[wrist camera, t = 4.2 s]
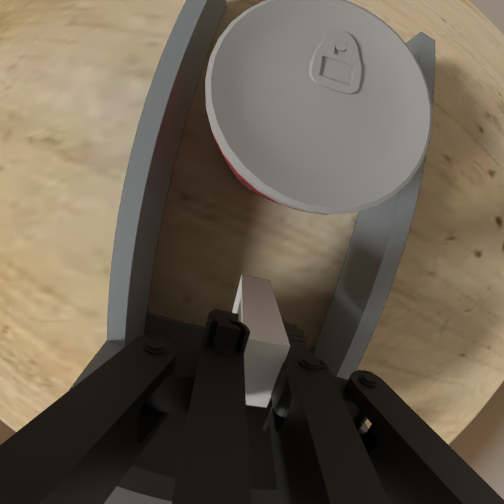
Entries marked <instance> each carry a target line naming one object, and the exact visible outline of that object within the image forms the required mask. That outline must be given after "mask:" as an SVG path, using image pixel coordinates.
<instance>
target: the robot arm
mask: <svg viewBox="0 0 504 504" xmlns="http://www.w3.org/2000/svg"><path fill="white" fill-rule="evenodd" d="M270 398H271V399H272V407H271V410H270V412H269V414H268V417H267V419H266V421H265V423H264V426H263V430H262V431H266V429H267V427H268V425H269V427H270V435H271V443H272V450H273V458H274V466H275V474H276V482H277V490H278V497H279V504H504V500H503V499H502V498H501V497H500V496H499V495H498V494H497V493H496V492H495V491H494V490H493V489H492V488H491V487H490V486H489V485H488V484H487V483H486V482H485V481H484V480H483V479H482V478H481V477H480V476H479V475H478V474H477V473H476V472H475V471H474V470H473V469H472V468H471V467H470V466H469V465H468V464H467V463H466V462H465V461H464V460H463V459H462V458H461V457H460V456H459V455H458V454H457V453H456V452H454V450H453V449H452V448H451V447H450V446H449V445H448V444H447V443H446V442H445V441H444V440H443V439H442V438H441V437H440V436H439V435H438V434H437V433H436V432H435V431H434V430H433V429H432V428H430V427H429V426H428V425H427V424H426V423H425V422H424V421H423V420H422V419H421V418H420V417H419V416H418V415H417V414H416V413H415V412H414V411H413V410H412V409H411V408H410V407H409V406H408V405H407V404H406V403H405V402H404V401H403V400H402V399H401V398H400V397H399V396H398V395H397V394H396V393H395V392H394V391H393V390H392V389H391V388H390V387H389V386H388V385H387V384H386V383H385V382H384V381H383V380H382V379H381V378H379V377H378V376H377V375H375V374H373V373H372V372H369V371H361V370H358V371H354V372H353V373H352V374H351V375H350V377H349V379H348V380H347V379H343V378H340V377H336V376H333V375H332V374H331V372H330V370H329V367H328V366H327V365H326V363H325V362H324V361H322V360H321V359H319V358H317V357H315V356H313V355H312V353H311V350H310V348H309V346H308V343H307V341H306V338H305V336H304V334H303V331H302V330H301V329H300V328H299V327H298V326H297V325H296V324H291V323H285V322H283V321H282V318H281V315H280V312H279V309H278V306H277V302H276V299H275V296H274V293H273V290H272V287H271V283H270V281H269V280H264V279H260V278H256V277H251V276H247V275H242V274H241V278H240V282H239V286H238V290H237V294H236V298H235V302H234V306H233V310H232V312H227V311H223V310H219V309H214V310H213V311H211V312H210V313H209V316H208V320H207V323H206V328H205V332H204V337H203V342H202V345H201V346H200V347H199V348H198V349H195V350H192V351H177V349H176V346H175V345H174V344H173V343H172V342H171V341H169V340H168V339H166V338H163V337H160V336H156V335H144V336H140V337H138V338H136V339H134V340H133V341H132V342H131V343H129V344H128V345H127V346H126V347H124V348H123V349H122V350H120V351H119V352H118V353H117V354H115V355H114V356H113V357H111V358H110V359H109V360H108V361H106V362H105V363H104V364H103V365H101V366H100V367H99V368H97V369H96V370H95V371H94V372H92V373H91V374H90V375H89V376H87V377H86V378H85V379H83V380H82V381H81V382H80V383H78V384H77V385H76V386H75V387H73V388H72V389H71V390H70V391H68V392H67V393H66V394H64V395H63V396H62V397H61V398H59V399H58V400H57V401H56V402H54V403H53V404H52V405H51V406H49V407H48V408H47V409H45V410H44V411H43V412H42V413H40V414H39V415H38V416H37V417H35V418H34V419H33V420H32V421H30V422H29V423H28V424H27V425H25V426H24V427H23V428H21V429H20V430H19V431H18V432H16V433H15V434H14V435H13V436H11V437H10V438H9V439H8V440H6V441H5V442H4V443H3V444H1V445H0V504H104V503H105V501H106V500H107V499H108V497H109V496H110V495H111V493H112V492H113V491H114V489H115V488H116V487H117V485H118V484H119V482H120V481H121V480H122V478H123V477H124V476H125V474H126V473H127V472H128V470H129V469H130V467H131V466H132V465H133V463H134V462H135V461H136V459H137V458H138V456H139V455H140V454H141V452H142V451H143V449H144V448H145V447H146V445H147V444H148V442H149V441H150V440H151V438H152V437H153V435H154V434H155V433H156V431H157V430H158V428H159V427H160V426H161V424H162V423H163V421H164V420H165V418H166V417H167V415H168V412H188V415H187V420H186V426H185V431H184V436H183V442H182V447H181V453H180V458H179V464H178V470H177V476H176V482H175V487H174V494H173V500H172V504H251V497H250V479H249V459H248V439H247V418H246V405H251V406H259V407H266V408H267V405H268V403H269V401H270ZM367 418H368V420H369V421H370V422H371V423H372V425H371V426H370V428H369V429H368V431H367V432H364V431H363V430H362V429H361V427H362V426H363V424H364V423H365V421H366V420H367Z"/></svg>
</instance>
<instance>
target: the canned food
mask: <svg viewBox="0 0 504 504" xmlns="http://www.w3.org/2000/svg"><path fill="white" fill-rule="evenodd" d="M205 94H206V110H207V114H208V118H209V122H210V126H211V130H212V133H213V135H214V138H215V140H216V142H217V144H218V146H219V148H220V150H221V152H222V154H223V156H224V158H225V160H226V162H227V164H228V165H229V167H230V169H231V171H232V172H233V173H234V175H235V176H236V177H237V179H238V180H239V181H240V182H241V183H242V184H243V185H244V186H246V187H247V188H248V189H249V190H251V191H253V192H255V193H256V194H258V195H260V196H262V197H264V198H267V199H269V200H271V201H273V202H276V203H279V204H282V205H284V206H287V207H290V208H293V209H297V210H300V211H304V212H311V213H318V214H325V215H326V214H340V213H354V212H358V211H361V210H365V209H368V208H371V207H375V206H377V205H379V204H380V203H382V202H384V201H386V200H388V199H389V198H391V197H393V196H394V195H395V194H396V193H398V192H399V191H400V190H401V189H402V188H403V187H404V186H405V185H406V184H408V183H409V181H410V180H411V178H412V177H413V176H414V174H415V173H416V171H417V170H418V169H419V167H420V165H421V163H422V161H423V158H424V156H425V154H426V151H427V149H428V145H429V140H430V135H431V130H432V106H431V100H430V94H429V89H428V86H427V83H426V80H425V77H424V74H423V72H422V69H421V67H420V65H419V64H418V62H417V60H416V58H415V56H414V55H413V53H412V51H411V50H410V49H409V47H408V46H407V45H406V43H405V42H404V41H403V40H402V38H401V37H400V36H399V35H398V34H397V33H396V32H395V31H394V30H393V29H392V28H391V27H390V26H388V25H387V24H386V23H385V22H384V21H383V20H381V19H380V18H378V17H377V16H375V15H374V14H372V13H371V12H369V11H368V10H366V9H364V8H362V7H360V6H358V5H356V4H353V3H351V2H349V1H346V0H265V1H262V2H260V3H258V4H256V5H254V6H253V7H251V8H249V9H247V10H246V11H244V12H243V13H242V14H241V15H239V16H238V17H237V18H236V19H234V20H233V21H232V22H231V23H230V24H229V26H228V27H227V28H226V29H225V31H224V32H223V33H222V35H221V36H220V37H219V38H218V41H217V43H216V45H215V47H214V49H213V51H212V54H211V56H210V58H209V63H208V68H207V73H206V78H205Z"/></svg>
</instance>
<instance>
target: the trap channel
mask: <svg viewBox="0 0 504 504" xmlns="http://www.w3.org/2000/svg"><path fill="white" fill-rule="evenodd" d="M225 9H226V0H186V2H185V4H184V6H183V8H182V10H181V12H180V14H179V16H178V18H177V21H176V23H175V25H174V27H173V30H172V32H171V34H170V36H169V39H168V41H167V44H166V46H165V48H164V51H163V53H162V56H161V58H160V61H159V64H158V66H157V69H156V72H155V75H154V77H153V80H152V83H151V86H150V89H149V92H148V95H147V98H146V101H145V104H144V107H143V111H142V114H141V117H140V121H139V124H138V128H137V131H136V135H135V139H134V143H133V147H132V151H131V155H130V159H129V163H128V167H127V172H126V176H125V181H124V186H123V191H122V196H121V202H120V207H119V213H118V219H117V225H116V232H115V239H114V247H113V255H112V264H111V274H110V285H109V299H108V317H107V341H106V342H105V343H104V345H103V346H102V347H101V349H100V350H99V351H98V352H97V354H96V355H95V356H94V358H93V359H92V360H91V362H90V363H89V364H88V365H87V367H86V368H85V369H84V371H83V372H82V373H81V375H80V376H79V377H78V379H77V380H76V382H75V383H74V384H73V386H72V387H71V388H70V390H71V389H72V388H73V387H75V386H76V385H77V384H78V383H80V382H81V381H82V380H83V379H85V378H86V377H87V376H89V375H90V374H91V373H92V372H94V371H95V370H96V369H97V368H99V367H100V366H101V365H103V364H104V363H105V362H106V361H108V360H109V359H110V358H111V357H113V356H114V355H115V354H117V353H118V352H119V351H120V350H122V349H123V348H124V347H126V346H127V345H128V344H129V343H131V342H132V341H133V340H134V339H136V338H138V337H140V336H144V335H156V336H160V337H163V338H166V339H168V340H169V341H171V342H172V343H173V344H174V345H175V346H176V349H177V351H192V350H195V349H198V348H199V347H200V346H201V345H202V342H203V337H204V332H205V328H206V327H202V326H197V325H193V324H189V323H185V322H181V321H177V320H173V319H169V318H165V317H162V316H158V315H154V314H151V313H147V311H148V303H149V295H150V288H151V281H152V274H153V267H154V261H155V255H156V249H157V243H158V238H159V232H160V227H161V222H162V217H163V212H164V207H165V202H166V197H167V193H168V188H169V184H170V180H171V175H172V171H173V167H174V163H175V159H176V155H177V151H178V147H179V144H180V140H181V136H182V132H183V129H184V125H185V122H186V118H187V115H188V112H189V108H190V105H191V102H192V99H193V95H194V92H195V89H196V86H197V83H198V80H199V77H200V74H201V71H202V68H203V65H204V62H205V60H206V57H207V54H208V51H209V49H210V46H211V43H212V41H213V38H214V36H215V33H216V30H217V28H218V25H219V23H220V20H221V18H222V16H223V13H224V11H225ZM406 45H407V46H408V47H409V49H410V50H411V51H412V53H413V55H414V56H415V58H416V60H417V62H418V64H419V65H420V67H421V69H422V72H423V74H424V77H425V80H426V83H427V86H428V89H429V94H430V100H431V106H432V105H433V94H434V78H435V40H434V39H432V38H431V37H429V36H427V35H426V34H424V33H423V32H420V33H419V34H417V35H416V36H415V37H413V38H412V39H411V40H409V41H408V42H407V43H406ZM425 157H426V154H425V156H424V158H423V161H422V163H421V165H420V167H419V169H418V170H417V171H416V173H415V174H414V176H413V177H412V178H411V180H410V181H409V183H408V184H406V185H405V186H404V187H403V188H402V189H401V190H400V191H399V192H398V193H396V194H395V195H394V196H393V197H391V198H389V199H388V200H386V201H384V202H382V203H380V204H379V205H377V206H375V207H371V208H368V209H365V210H361V211H359V214H358V218H357V221H356V225H355V228H354V232H353V235H352V239H351V242H350V246H349V249H348V252H347V256H346V259H345V262H344V265H343V268H342V271H341V275H340V278H339V281H338V284H337V287H336V290H335V293H334V296H333V298H332V301H331V304H330V307H329V310H328V313H327V315H326V318H325V321H324V324H323V326H322V329H321V332H320V334H319V337H318V339H317V342H316V344H315V347H314V348H312V347H309V348H310V350H311V353H312V355H313V356H315V357H317V358H319V359H321V360H322V361H324V362H325V363H326V365H327V366H328V367H329V370H330V372H331V374H332V375H333V376H336V377H340V378H343V379H347V380H348V379H349V377H350V375H351V374H352V373H353V372H354V371H356V369H357V367H358V365H359V363H360V361H361V359H362V357H363V355H364V352H365V350H366V348H367V346H368V344H369V341H370V339H371V337H372V334H373V332H374V330H375V327H376V325H377V322H378V320H379V318H380V315H381V313H382V310H383V307H384V305H385V302H386V300H387V297H388V294H389V291H390V289H391V286H392V283H393V280H394V277H395V274H396V271H397V268H398V265H399V262H400V259H401V256H402V253H403V249H404V246H405V243H406V239H407V236H408V232H409V229H410V225H411V221H412V217H413V213H414V209H415V205H416V201H417V197H418V192H419V188H420V183H421V178H422V173H423V168H424V163H425ZM70 390H69V391H70ZM271 407H272V399H271V398H270V401H269V403H268V405H267V408H266V407H259V406H251V405H246V418H247V439H248V459H249V479H250V497H251V504H279V497H278V490H277V482H276V474H275V466H274V458H273V450H272V443H271V435H270V427H269V425H268V427H267V429H266V431H262V430H263V426H264V423H265V421H266V419H267V417H268V414H269V412H270V410H271ZM187 415H188V412H168V415H167V417H166V418H165V420H164V421H163V423H162V424H161V426H160V427H159V428H158V430H157V431H156V433H155V434H154V435H153V437H152V438H151V440H150V441H149V442H148V444H147V445H146V447H145V448H144V449H143V451H142V452H141V454H140V455H139V456H138V458H137V459H136V461H135V462H134V463H133V465H132V466H131V467H130V469H129V470H128V472H127V473H126V474H125V476H124V477H123V478H122V480H121V481H120V482H119V484H118V485H117V487H116V488H115V489H114V491H113V492H112V493H111V495H110V496H109V497H108V499H107V500H106V501H105V503H104V504H172V500H173V494H174V487H175V482H176V476H177V470H178V464H179V458H180V453H181V447H182V442H183V436H184V431H185V426H186V420H187ZM361 429H362V430H363V431H364V432H367V431H368V428H367V426H366V424H365V423H364V424H363V426H362V427H361Z"/></svg>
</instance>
